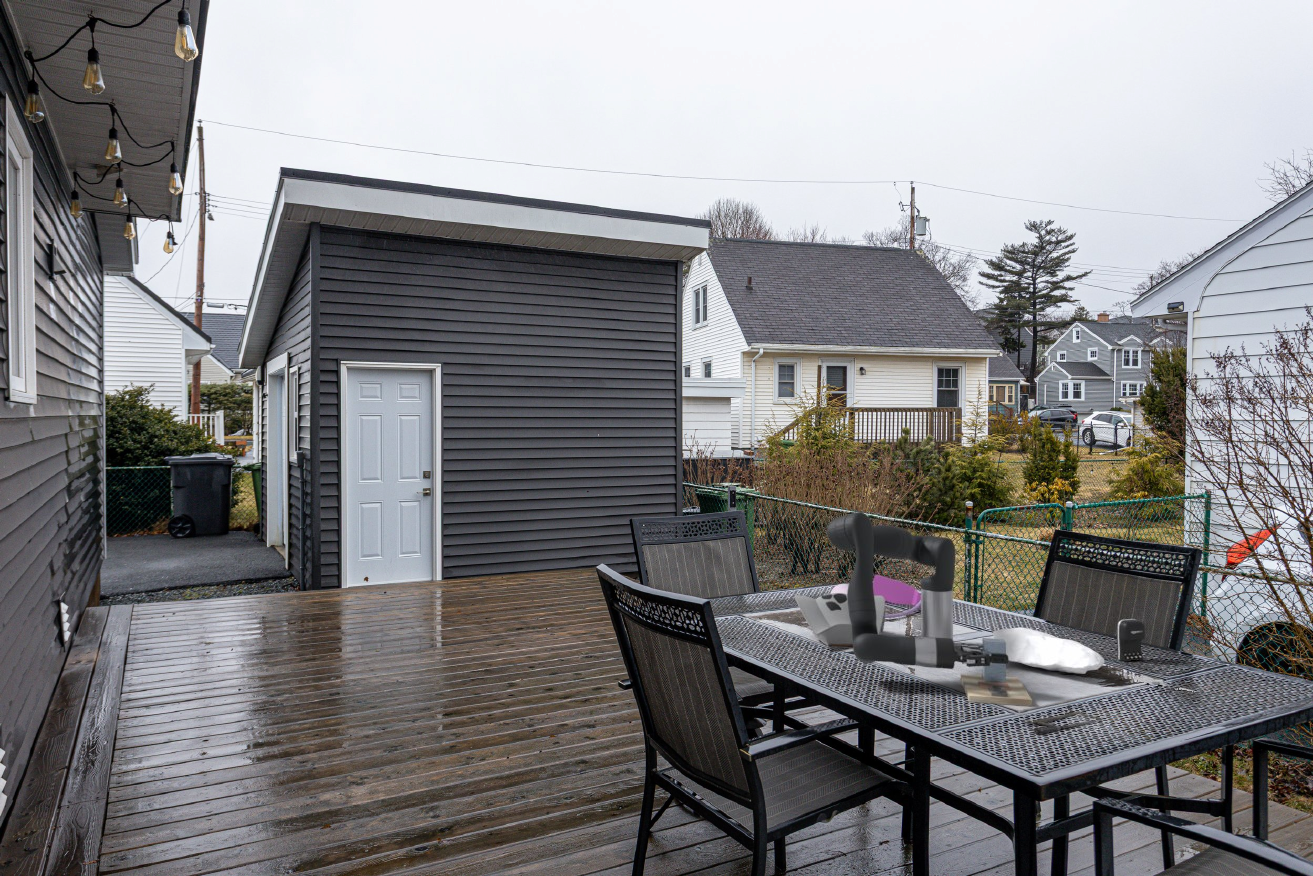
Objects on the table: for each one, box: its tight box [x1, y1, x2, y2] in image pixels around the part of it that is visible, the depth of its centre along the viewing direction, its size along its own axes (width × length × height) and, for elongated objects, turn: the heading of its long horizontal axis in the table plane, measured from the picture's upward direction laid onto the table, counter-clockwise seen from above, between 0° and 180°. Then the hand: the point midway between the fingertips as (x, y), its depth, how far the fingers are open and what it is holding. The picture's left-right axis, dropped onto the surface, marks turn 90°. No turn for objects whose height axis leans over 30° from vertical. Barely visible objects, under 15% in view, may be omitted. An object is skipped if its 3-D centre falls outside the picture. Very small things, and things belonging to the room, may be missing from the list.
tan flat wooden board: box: [960, 673, 1033, 707], centre depth 201 cm, size 18×14×2 cm
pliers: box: [1133, 675, 1197, 692], centre depth 203 cm, size 10×2×15 cm
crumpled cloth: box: [992, 627, 1105, 675], centre depth 224 cm, size 24×35×9 cm
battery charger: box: [1116, 618, 1146, 662], centre depth 229 cm, size 7×4×11 cm, turn 101°
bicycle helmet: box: [794, 592, 886, 647], centre depth 253 cm, size 28×26×16 cm
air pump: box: [829, 574, 921, 619], centre depth 293 cm, size 32×38×10 cm
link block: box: [981, 637, 1007, 683], centre depth 201 cm, size 4×5×10 cm
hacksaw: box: [1021, 705, 1104, 736], centre depth 182 cm, size 24×10×2 cm, turn 115°
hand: (1006, 657), depth 201 cm, fingers closed on link block, 3 cm apart
